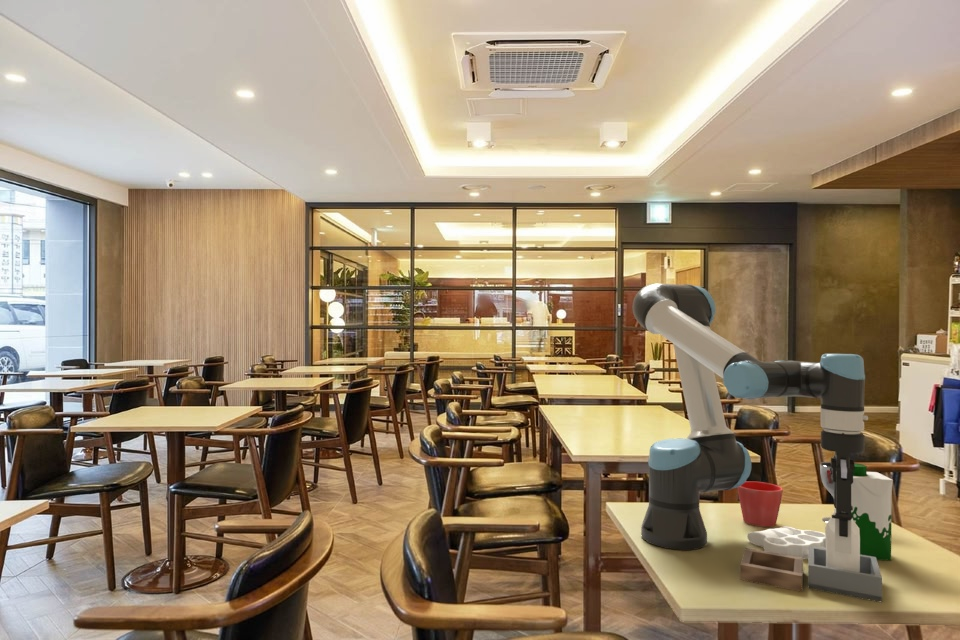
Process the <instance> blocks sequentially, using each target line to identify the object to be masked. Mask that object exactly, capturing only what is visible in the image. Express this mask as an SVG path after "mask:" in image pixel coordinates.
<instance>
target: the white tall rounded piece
mask: <svg viewBox="0 0 960 640" xmlns="http://www.w3.org/2000/svg"><path fill="white" fill-rule="evenodd" d="M835 514H836V511H835V512H834V511H833V513H832V515H835ZM830 517H831V518H830V520H829V521H828V522H825V523H826V524H825V528H824V529H825V530H824V533H825V538H826V567H832V568H838V569H844V570H849V571H855V572H860V530H859V527H858V526H857V525H856V523H855V522H854V520H853V519H851V554H848V553H842V552H836V551H835V518H832V516H830Z"/></svg>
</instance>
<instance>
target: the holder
mask: <svg viewBox="0 0 960 640" xmlns="http://www.w3.org/2000/svg"><path fill="white" fill-rule="evenodd" d="M739 573H740V574H739V577H740V578H739V579H740V580H741V581H746V582H749V583H750V582H751V583H756V584H760V585H764V586H771V587H776V588H781V589H786V590H791V591H796V592H802V593H803V585H804V584H803V582H804V581H803V580H804V559H803V558H802V557H796V556H791V555H785V554H779V553H773V552H767V551H764V550H760V549H756V548H755V549H754V548H751V547H745V549H744V552H743V555H742V558H741V561H740V571H739Z"/></svg>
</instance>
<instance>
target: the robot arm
mask: <svg viewBox="0 0 960 640" xmlns="http://www.w3.org/2000/svg"><path fill="white" fill-rule="evenodd" d="M632 312H633V315H634V316H633V317H634V318H635V319H636V322H637V323H638V324H639V325H640V326H641V327H642V328H643V329H645V330H646V331H648V332H649V333H650V334H653V335H661V336H662V337H663V338H664V339H666V340H667V341H668V342H670V343H672V344H673V349H674V354H675V359H676V365H677V368H678V374H679V378H680V383H681V384H680V385H681V388H682V393H683V398H684V402H685V408H686V412H687V413H686V414H687V418H688V422H689V426H690V433H689V434H688V435H687V437H686V438H668V439H662V440H658V441H656V442H654V443H653V444H652V445H651V446H650V448H649V455H648V456H649V457H648V461H647V462H648V464H647V465H648V507H647V509H646V512H645V515H644V517H643V521H642V524H641V526H640V527H641V530H640V531H641V532H640V534H641V535H642V536H641V538H642V539H643V540H644V541H645V540H646V541H645V542H647V543H649V544H652V545H654V546H657V547H660V548H665V549H671V550H678V551H679V550H681V551H682V550H683V551H685V550H686V551H687V550H688V551H690V550H698V549H702V548H704V547H706V546H707V545H708V532H707V529H706V526H705V522H704V520H703V516H702V514H701V509H700V493H701V494H702V493H711V492H717V491H718V492H719V491H730V490H732V489H736V488H737V487H739V486H741V485H743V484H744V483H745V482H746V481H747V480H748V478H749V477H750V475H751V471H752V459H751V455H750V452H749V450H748V449H747V447H744V445H743V443H741V442H739V441H737V440H736V434H735V431H733V430H731V429H730V428H729V427H728V426H727V423H726V420H725V419H726V418H725V416H724V415H725V414H724V411H723V410H724V409H723V406H722V405H723V404H722V401H721V397H720V393H719V392H720V391H719V388H718V383H717V379H716V375H717V376H719V377H720V378H721V379H722V380H723V382H722V383H723V386H724V387H725V388H726V390H727V393H728V394H730V395H731V396H732V397H734V398H738V399H745V400H756V399H764V398H786V397H787V398H788V397H803V398H811V399H812V398H814V399H819V400H820V427H821V428H822V430H821V431H820V447H821V448H822V449H823V450H825V451H828V452H835V453H834V454H835V455H833V457H830V462H831V468H832V478H833V482H834V498H833V507H834V509H833V513H834V512H835V511H836V514H835V515H833V514H831V517H832V518H835V551H836V552H842V553H848V554H851V519H852V515H851V510H853V506H851V484H852V483H853V471H854V469H855V467H854V463H855V461H854V459H850V457H851V456H850V454H861V453H864V452H865V449H866V448H865V444H866V443H865V441H866V439H865V438H866V437H865V434H864V433H862V432H864V430H865V422H864V421H868V420H869V416H868V415H865V382H866V374H865V363H864V361H865V360H864V358H863V357H862V356H861V355H859V354H853V353H824V354H822V355H821V357H820V361H819V362H818V361H817V362H813V361H811V362H810V361H801V360H800V361H799V360H791V359H789V360H785V359H783V360H775V361H761V360H760V359H758V358H756V357H754V356H753V355H750V354H749V353H748V352H746V351H744V349H742V348H740V347H738V346H737V345H735V344H734V343H732V342H731V341H729V340H727V339H726V338H724V337H722V336H721V335H719V334H718V333H716V332H715V331H713V330H711V324H712V323H713V321H714V319H715V317H714V316H715V315H716V303H715V300H714V298H713V296H712V295H711V294H710V292H709V291H708V290H707V289H705V288H703V287H701V286H697V285H693V284H675V283H674V284H673V283H672V284H671V283H652V284H647V285H645V286H644V287H642V288H641V289H639V291H638V292H637V293H636V294H635V296H634V298H633V302H632ZM835 508H836V509H835Z"/></svg>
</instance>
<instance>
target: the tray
mask: <svg viewBox="0 0 960 640" xmlns="http://www.w3.org/2000/svg"><path fill="white" fill-rule="evenodd" d="M807 560H808V562H807V563H808V564H807V566H808V567H807V568H808V569H807V571H808V572H807V575H808V577H807V581H808V583H807V588H808V589H811V590H816V591H821V592H826V593H831V594H837V595H842V596H847V597H850V598H852V597H853V598H855V599H856V598H857V599H862V598H863V599H862V600H867V599H870V600H869V601H872V600H875V601H874V602H877V601H882V602H883V578H882V573H881V570H880V567H879V563H878V560H877V559H876V557H872V556H866V555H860V572H855V571H849V570H844V569H838V568H832V567H826V549H823V548H817V547H811V546H809V552H808V559H807Z"/></svg>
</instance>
